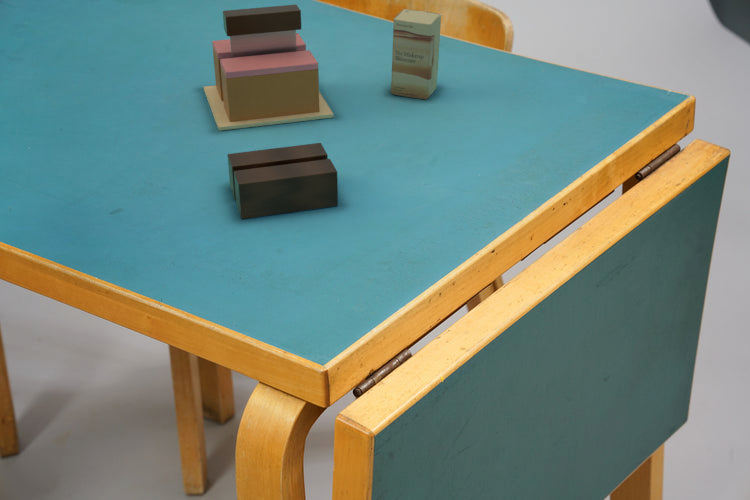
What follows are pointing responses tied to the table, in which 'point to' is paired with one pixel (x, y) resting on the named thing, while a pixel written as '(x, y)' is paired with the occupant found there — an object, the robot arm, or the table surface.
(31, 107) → the table surface
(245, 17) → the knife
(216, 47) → the pink slotted holder
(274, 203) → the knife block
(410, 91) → the cosmetic box
